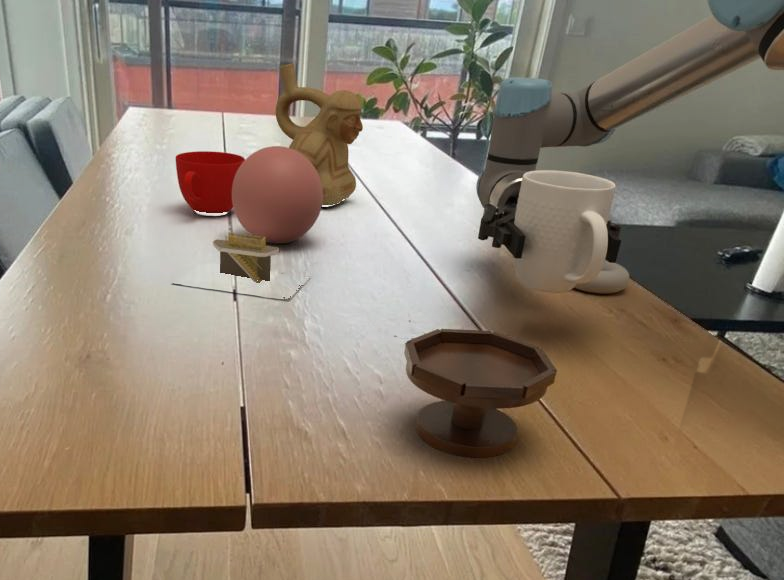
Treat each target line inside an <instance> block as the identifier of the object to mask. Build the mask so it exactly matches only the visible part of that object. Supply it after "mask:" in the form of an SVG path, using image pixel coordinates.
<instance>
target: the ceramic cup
mask: <svg viewBox="0 0 784 580" xmlns="http://www.w3.org/2000/svg"><path fill="white" fill-rule="evenodd" d="M245 159H246V158H245V157H244V156H243V155H239V154H235V153H230V152H222V151H206V150H205V151H204V150H203V151H202V150H201V151H198V150H197V151H187V152H182V153H178V154H176V156H175V168H176V177H177V183H178V187H179V191H180V193H181V195H182V198H183V200H184V202H186V204H187V205H188V206H189V208H190V209H191V210H192V209H193V210H196V211H199V212H206V213H223V212H228V211H229V212H231V210H232V209H234V208H233V204H232V185H233V180H234V177H235V175H236V172H237V170H238V169H239V167H240V166H241V164H242V163H243V162H244V161H245ZM193 210H192V211H193Z"/></svg>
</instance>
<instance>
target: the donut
mask: <svg viewBox="0 0 784 580" xmlns="http://www.w3.org/2000/svg"><path fill="white" fill-rule="evenodd" d="M629 281H630V273H629V271H628V270H627V269H626V268H625V267H624V266H623V265H620V264H619V263H609V262H608V261H607V260H606V259H605V261H604V264H603V267H602V269H601V271H600V273H599V274H598V275H597V277H596V278H594V279H593V280H591V281H590V282H587V283H582V284H576V285H575V286H574V287H573V289H576V290H579V291H583V292H586V293H592V294H602V295H603V294H604V295H605V294H615V293H618V292H619V293H620V292H621V291H622V290H624V289H626V288H627V286H628V285H629Z"/></svg>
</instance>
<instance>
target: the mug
mask: <svg viewBox="0 0 784 580" xmlns="http://www.w3.org/2000/svg"><path fill="white" fill-rule="evenodd" d="M616 185H617V184H615V183H614V181H612V180H609V179H607V178H603V177H601V176H596V175H591V174H588V173H587V174H586V173H581V172H575V171H566V170H551V169H550V170H549V169H547V170H546V169H545V170H544V169H543V170H535V171H530V172H526V173H525V174H524V175H523V178H522V183H521V188H520V192H519V198H518V203H517V209H516V212H515V213H516V214H515V220H514V224H515V226H517V227H518V228H519V229H520V230H521V232H522V233H523V234H524V235H525V236H526V238H525V243H524V248H523V253H522V258H521V259H517V258H514V256H513V255H512V261H513V268H514V270H515V275H516V277H517V279H518V281H519V283H520V284H521V285H522V286H524V287H526V288H527V289H530V290H533V291H538V292H542V293H553V294H558V293H560V294H561V293H566V292H569V291H571V290H573V289H574V286H575V285H576V284H582V283H587V282H590V281H591V280H593V279H594V278H596V277H597V275H598V274H599V273H600V271H601V269H602V267H603V264H604V261H605V260H606V259H605V258H606V253H607V247H608V232H607V227H606V225H607V222H608V221H609V219H610V213H611V209H612V205H613V200H614V196H615V192H616V187H617V186H616Z"/></svg>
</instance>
